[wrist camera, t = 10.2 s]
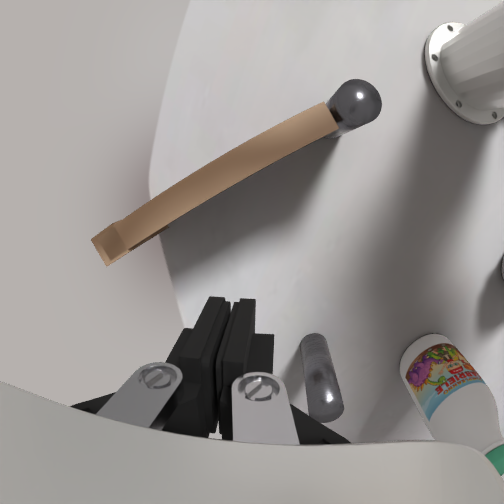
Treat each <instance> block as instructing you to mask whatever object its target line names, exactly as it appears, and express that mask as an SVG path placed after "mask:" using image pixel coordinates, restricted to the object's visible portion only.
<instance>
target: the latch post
mask: <svg viewBox="0 0 504 504" xmlns="http://www.w3.org/2000/svg"><path fill="white" fill-rule="evenodd" d="M300 347H301V355H302V362H303V370H304V378H305V386H306V394H307V403H308V411H309V416H310V417H312V418H313V419H315V420H316V421H318V422H320V423H327V422H331V421H334V420H336V419H337V418H339V417H340V416H341V415H342V413H343V411H344V405H343V401H342V397H341V393H340V389H339V386H338V382H337V378H336V374H335V371H334V367H333V363H332V359H331V356H330V352H329V349H328V345H327V341H326V339H325V338H324V337H323V336H322V335H320V334H316V333H314V334H309V335H307V336H306V337H304V338H303V340H302V341H301V344H300Z"/></svg>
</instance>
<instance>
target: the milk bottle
mask: <svg viewBox="0 0 504 504" xmlns="http://www.w3.org/2000/svg"><path fill="white" fill-rule="evenodd" d="M400 375H401V377H402V380H403V382H404V384H405V385H406V387H407V389H408V391H409V393H410V395H411V397H412V399H413V401H414V403H415V405H416V407H417V409H418V410H419V412H420V414H421V416H422V418H423V420H424V422H425V424H426V426H427V428H428V429H429V431H430V433H431V435H432V436H433V438H434V439H435V440H437V441H444V442H452V443H458V444H462V445H466V446H469V447H472V448H474V449H476V450H478V451H479V452H481V453H482V454H483V455H484V456H485V457H486V458H487V459H488V460H489V461H490V462H491V463H492V464H493V466H494V467H495V468H496V470H497V471H498V473H499V474H500V476H502V475H503V474H504V439H503V437H502V435H501V432H500V427H499V421H498V411H497V405H496V402H495V399H494V396H493V394H492V393H491V391H490V389H489V388H488V386H487V385H486V383H485V382H484V381H483V379H482V378H481V377H480V376H479V374H478V373H477V372H476V371H475V369H474V368H473V367H472V366H471V365H470V363H469V362H468V361H467V360H466V359H465V357H464V356H463V355H462V354H461V353H460V352H459V350H458V349H457V348H456V347H455V346H454V345H453V344H452V343H451V341H450V340H449V339H448V338H446V337H445V336H443V335H440V334H429V335H425V336H423V337H421V338H419V339H418V340H416V341H415V342H413V343H412V344H411V345H410V346H409V347H408V348H407V350H406V351H405V353H404V354H403V356H402V358H401V362H400Z"/></svg>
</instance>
